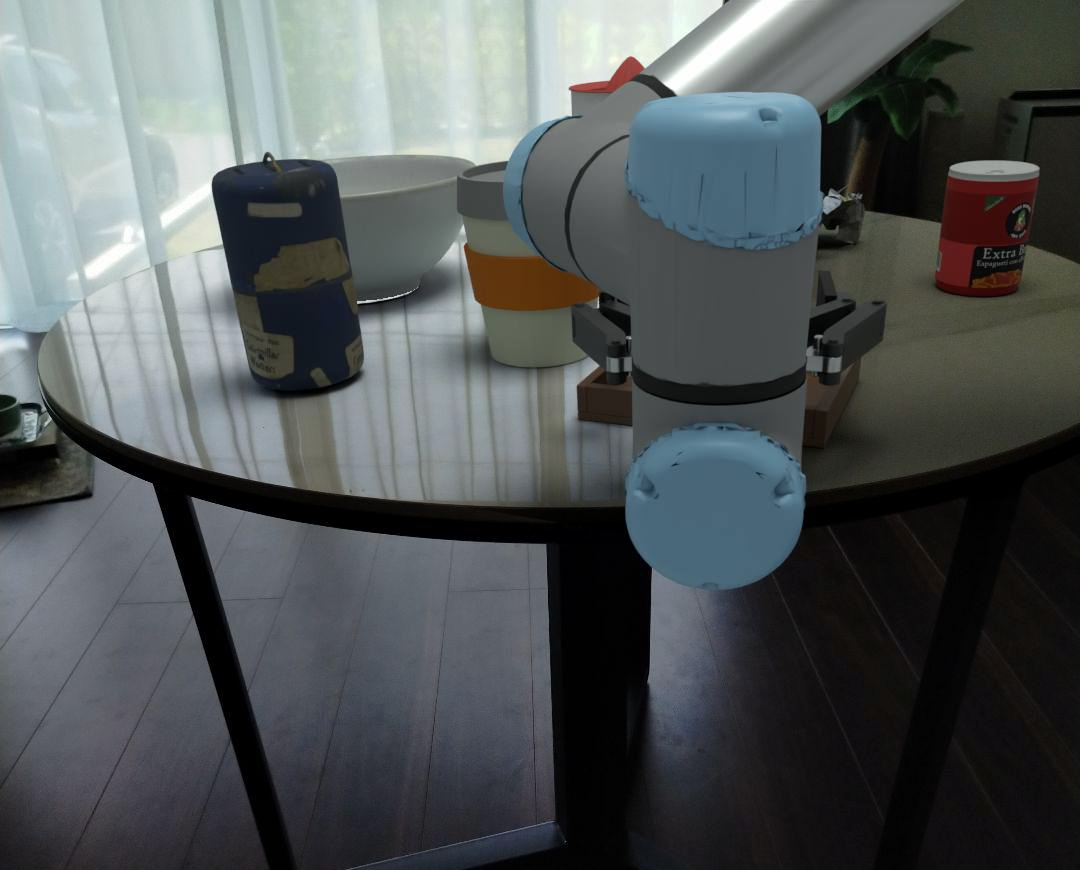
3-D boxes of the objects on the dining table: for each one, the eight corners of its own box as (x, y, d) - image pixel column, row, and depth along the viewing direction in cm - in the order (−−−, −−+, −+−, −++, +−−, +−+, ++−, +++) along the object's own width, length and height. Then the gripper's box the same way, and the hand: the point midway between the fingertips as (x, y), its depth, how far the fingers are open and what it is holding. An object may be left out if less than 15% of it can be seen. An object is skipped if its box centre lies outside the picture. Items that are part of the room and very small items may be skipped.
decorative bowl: (434, 250, 124) (423, 147, 118) (527, 295, 103) (519, 172, 97) (217, 285, 114) (193, 174, 109) (270, 343, 93) (244, 210, 87)
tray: (859, 380, 76) (862, 347, 75) (824, 448, 65) (827, 411, 64) (641, 360, 83) (640, 329, 82) (577, 419, 72) (576, 385, 71)
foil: (906, 220, 109) (811, 152, 102) (849, 307, 112) (753, 248, 105) (848, 198, 118) (757, 135, 111) (797, 279, 122) (706, 223, 115)
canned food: (977, 302, 92) (996, 177, 86) (915, 284, 98) (929, 166, 93) (1038, 288, 94) (1061, 166, 89) (974, 272, 101) (991, 157, 96)
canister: (366, 355, 88) (334, 139, 80) (368, 391, 80) (333, 153, 71) (256, 367, 87) (212, 148, 78) (247, 404, 79) (196, 165, 70)
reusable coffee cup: (443, 351, 88) (424, 173, 81) (556, 320, 94) (547, 153, 87) (525, 385, 79) (512, 188, 72) (644, 349, 85) (643, 164, 78)
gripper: (500, 454, 58) (558, 341, 76) (953, 463, 53) (900, 340, 72) (490, 328, 54) (553, 241, 72) (974, 326, 50) (912, 234, 68)
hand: (725, 290), depth 72 cm, fingers open, 13 cm apart
